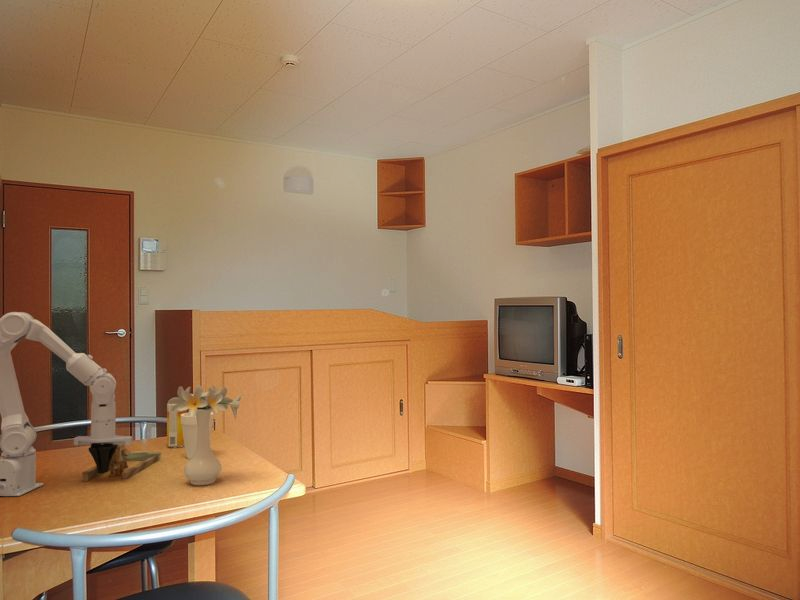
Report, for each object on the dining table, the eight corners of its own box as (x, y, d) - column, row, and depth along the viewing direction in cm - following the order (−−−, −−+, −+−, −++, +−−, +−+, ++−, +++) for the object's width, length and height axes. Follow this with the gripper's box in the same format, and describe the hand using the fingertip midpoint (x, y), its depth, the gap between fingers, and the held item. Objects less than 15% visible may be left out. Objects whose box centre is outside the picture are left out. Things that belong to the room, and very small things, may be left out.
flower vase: (246, 483, 151) (246, 385, 151) (169, 493, 143) (169, 390, 143) (237, 471, 162) (237, 380, 163) (165, 479, 154) (166, 384, 155)
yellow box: (189, 444, 196) (189, 399, 197) (183, 448, 190) (183, 401, 191) (170, 444, 196) (171, 399, 196) (164, 448, 190) (164, 402, 190)
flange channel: (123, 481, 153) (123, 471, 153) (82, 480, 153) (82, 471, 153) (160, 459, 176) (160, 451, 176) (125, 459, 176) (125, 451, 176)
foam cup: (197, 452, 185) (197, 410, 185) (219, 455, 181) (219, 412, 181) (173, 458, 177) (174, 415, 177) (196, 462, 173) (196, 417, 173)
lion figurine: (130, 477, 157) (130, 443, 157) (108, 479, 154) (108, 445, 154) (127, 464, 170) (127, 433, 170) (107, 466, 167) (107, 435, 168)
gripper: (138, 417, 157) (137, 468, 157) (84, 417, 158) (84, 468, 157) (124, 422, 150) (124, 475, 150) (69, 422, 151) (68, 475, 150)
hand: (103, 472), depth 153 cm, fingers closed
